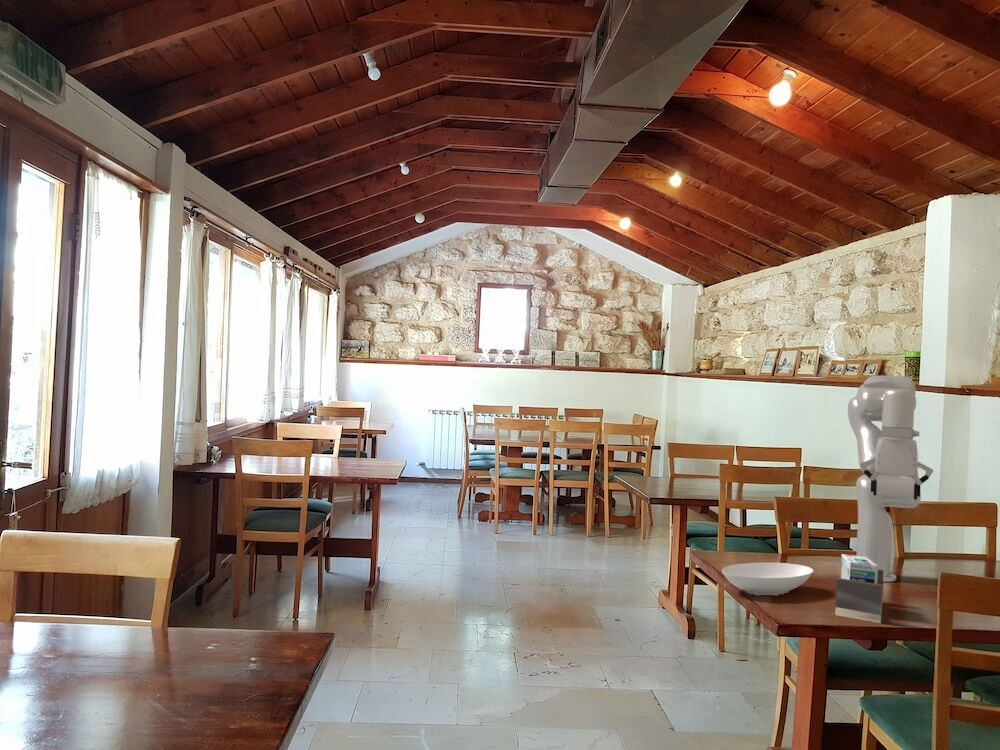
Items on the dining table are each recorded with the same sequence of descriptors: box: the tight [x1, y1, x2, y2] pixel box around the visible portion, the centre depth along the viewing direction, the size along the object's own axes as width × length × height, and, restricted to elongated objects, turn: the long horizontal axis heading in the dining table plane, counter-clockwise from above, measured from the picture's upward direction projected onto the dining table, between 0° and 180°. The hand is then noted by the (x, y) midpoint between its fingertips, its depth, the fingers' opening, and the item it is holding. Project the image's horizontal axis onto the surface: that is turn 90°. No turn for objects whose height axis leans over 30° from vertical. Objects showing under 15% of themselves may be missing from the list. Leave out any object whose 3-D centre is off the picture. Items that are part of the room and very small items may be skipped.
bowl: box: [721, 562, 814, 596], centre depth 194 cm, size 30×15×6 cm, turn 114°
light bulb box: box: [840, 553, 878, 584], centre depth 182 cm, size 11×7×11 cm, turn 165°
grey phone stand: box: [834, 569, 884, 624], centre depth 181 cm, size 20×10×9 cm, turn 150°
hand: (894, 497), depth 191 cm, fingers open, 9 cm apart
